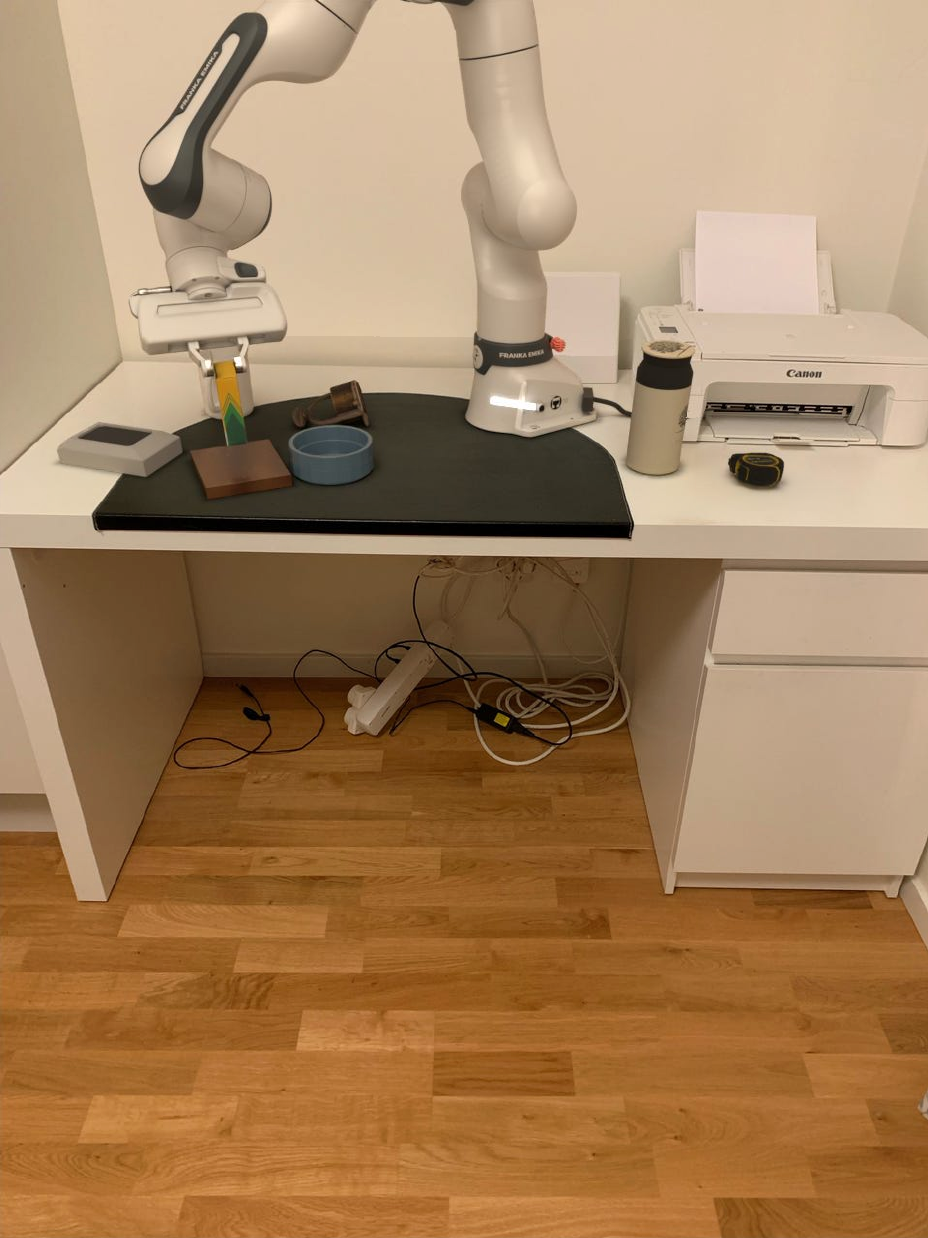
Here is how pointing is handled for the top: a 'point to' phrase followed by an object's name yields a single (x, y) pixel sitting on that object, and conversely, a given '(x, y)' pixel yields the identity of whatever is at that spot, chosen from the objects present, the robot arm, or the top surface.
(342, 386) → the brown roll holder
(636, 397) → the travel mug
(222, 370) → the crayon box
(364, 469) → the bowl
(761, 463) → the tape measure
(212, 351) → the cup
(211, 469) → the board
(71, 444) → the grey bevelled block
